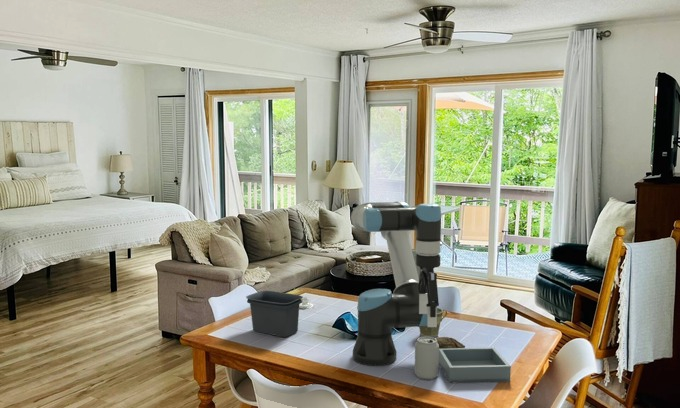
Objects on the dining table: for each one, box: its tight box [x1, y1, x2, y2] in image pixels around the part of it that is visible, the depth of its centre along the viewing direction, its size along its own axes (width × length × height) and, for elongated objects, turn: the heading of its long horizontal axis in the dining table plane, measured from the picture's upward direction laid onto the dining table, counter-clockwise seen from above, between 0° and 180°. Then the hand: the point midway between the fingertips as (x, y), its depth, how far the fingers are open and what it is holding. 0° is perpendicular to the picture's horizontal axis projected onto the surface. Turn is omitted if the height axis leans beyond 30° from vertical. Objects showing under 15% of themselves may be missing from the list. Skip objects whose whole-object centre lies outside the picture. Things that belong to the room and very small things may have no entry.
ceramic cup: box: [418, 307, 448, 339], centre depth 214 cm, size 13×10×10 cm
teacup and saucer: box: [299, 296, 314, 309], centre depth 254 cm, size 9×8×4 cm
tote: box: [439, 347, 512, 384], centre depth 179 cm, size 19×16×5 cm
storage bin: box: [245, 290, 304, 338], centre depth 219 cm, size 21×16×14 cm
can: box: [414, 336, 440, 380], centre depth 176 cm, size 8×8×12 cm
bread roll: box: [435, 336, 466, 349], centre depth 199 cm, size 13×12×5 cm
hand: (427, 320), depth 174 cm, fingers open, 13 cm apart
